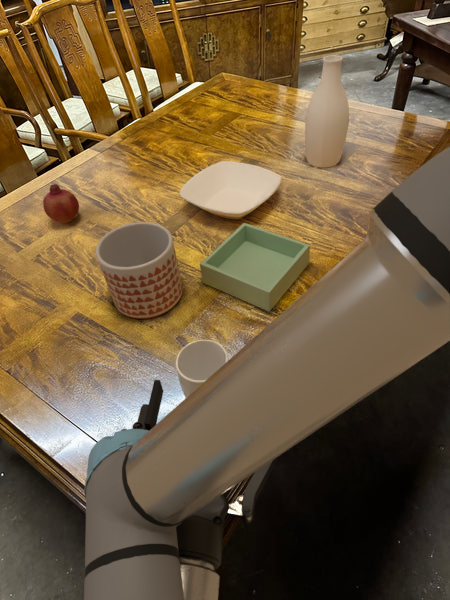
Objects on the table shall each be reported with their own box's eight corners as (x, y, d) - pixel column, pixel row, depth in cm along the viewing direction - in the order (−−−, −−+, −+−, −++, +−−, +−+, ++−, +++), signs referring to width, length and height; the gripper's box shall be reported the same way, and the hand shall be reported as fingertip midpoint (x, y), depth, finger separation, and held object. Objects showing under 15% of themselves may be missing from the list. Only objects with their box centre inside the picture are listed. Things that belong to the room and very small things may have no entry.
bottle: (294, 160, 117) (298, 59, 99) (322, 147, 121) (331, 48, 103) (323, 174, 110) (334, 69, 92) (352, 160, 114) (367, 56, 96)
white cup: (245, 423, 62) (239, 363, 51) (206, 450, 59) (192, 392, 49) (219, 392, 66) (209, 330, 55) (182, 415, 63) (165, 355, 53)
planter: (190, 309, 79) (179, 257, 70) (118, 328, 77) (98, 277, 68) (175, 265, 89) (164, 214, 80) (111, 281, 87) (92, 230, 78)
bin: (308, 264, 86) (310, 244, 82) (269, 311, 77) (269, 292, 73) (245, 241, 93) (244, 222, 89) (202, 282, 84) (199, 263, 81)
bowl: (222, 174, 114) (220, 156, 111) (292, 193, 105) (292, 174, 101) (171, 213, 103) (167, 194, 99) (244, 239, 93) (243, 220, 89)
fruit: (54, 213, 107) (39, 178, 100) (85, 210, 107) (72, 174, 100) (47, 232, 101) (31, 196, 94) (81, 228, 101) (66, 192, 94)
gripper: (78, 566, 46) (126, 398, 61) (306, 585, 43) (298, 404, 58) (53, 546, 41) (112, 368, 56) (311, 567, 38) (301, 373, 53)
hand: (207, 386), depth 57 cm, fingers open, 13 cm apart
